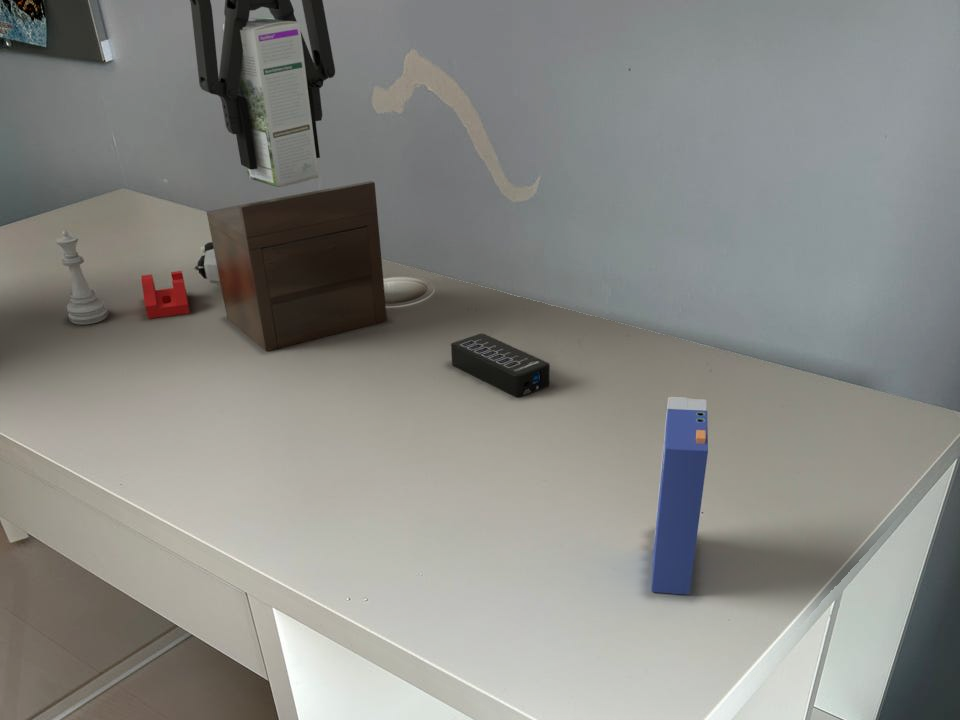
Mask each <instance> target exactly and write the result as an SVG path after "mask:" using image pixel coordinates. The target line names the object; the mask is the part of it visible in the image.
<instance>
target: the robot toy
mask: <svg viewBox="0 0 960 720" xmlns="http://www.w3.org/2000/svg"><path fill="white" fill-rule="evenodd" d="M200 250H201V252H202V253H203V254H204V255H201V256H200V258H199V260H198V262H197V265H196V264H193V265H192V267H193V270H194V271H198V274H199V275H201V277H202V278H203V279H205V280H208V282H209V283H211V284H217V286H218V287H221V284H220V279H219V274H218V268H217V263H216V258H215V253H214V248H213V243H212V241H210V242H207V243H205V244H204V245H202V246H201V247H200Z"/></svg>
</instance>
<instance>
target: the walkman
mask: <svg viewBox="0 0 960 720" xmlns="http://www.w3.org/2000/svg"><path fill="white" fill-rule="evenodd" d="M666 405H667V407H666V415H665V424H664V436H663V446H662V456H661V465H660V475H659V487H658V497H657V506H656V517H655V527H654V540H653V554H652V555H653V557H652V572H651V573H652V575H651V592H652V593H661V594H676V595H690V593H691V586H692V578H693V572H694V571H693V570H694V562H695V554H696V548H697V547H696V546H697V539H698V531H699V525H700V524H699V523H700V516H701V509H702V500H703V493H704V485H705V478H706V469H707V462H708V455H709V436H708V435H709V433H708V431H709V430H708V429H709V428H708V427H709V426H708V407H707V405H708V403H707V399H705V398H704V399H703V398H702V399H701V398H700V399H699V398H688V397H685V396H683V397H680V396H669V397H668V398H667V404H666Z"/></svg>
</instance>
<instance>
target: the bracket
mask: <svg viewBox="0 0 960 720" xmlns="http://www.w3.org/2000/svg"><path fill="white" fill-rule="evenodd" d="M170 275H171V283H172V287H171V288H161V289H156V286H155V281H154V276H153V274H143V275H142V274H141V275H140V281H141V287H142V293H143V301H144V307H145V311H146V315H147V319H157V318H163V317H171V316H172V317H173V316H181V315H187V314H190V306H189V300H188V293H187V289H186V285H185V279H184V275H183V271H182V270H177V271H170Z"/></svg>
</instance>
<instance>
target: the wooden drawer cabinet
mask: <svg viewBox="0 0 960 720" xmlns="http://www.w3.org/2000/svg"><path fill="white" fill-rule="evenodd" d="M376 192H377V191H376V183H375V182H374V181H373V180H369V181H363V182H358V183H352V184H347V185H341V186H336V187H332V188H331V187H329V188H324V189H318V190H314V191H307V192H302V193H297V194H293V195H287V196H286V195H285V196H281V197H275V198H271V199H265V200H260V201H254V202H249V203H244V204H239V205H234V206H227V207H221V208H216V209H212V210H211V209H210V210H206V218H207V221H208V226H209V232H210V237H211V242H212V243H213V248H214V253H215V258H216V263H217V268H218V274H219V279H220V284H221V286H220V289H221V293H222V299H223V303H224V310H225V314H226V318H227V319H228V321H230V322H231V323H232V324H234V325H235V326H236V327H237V328H238V329H239V330H241V331H242V332H243V333H244V334H245V335H246V336H247V337H249V338H250V339H251V340H252V341H253V342H255V343H256V344H257V345H258V346H259V347H261V348H262V349H263V350H264V351H265V352H269V351H273V350H276V349H281V348H285V347H288V346H293V345H296V344H300V343H305V342H308V341H313V340H317V339H320V338H325V337H328V336H332V335H336V334H340V333H344V332H348V331H353V330H356V329H361V328H364V327H367V326H372V325H376V324H380V323H385V322H387V321H388V317H387V316H388V315H387V305H386V294H385V282H384V274H383V273H384V271H383V261H382V250H381V249H382V248H381V236H380V226H379V218H378V217H379V215H378V205H377V203H378V202H377V193H376Z"/></svg>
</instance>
